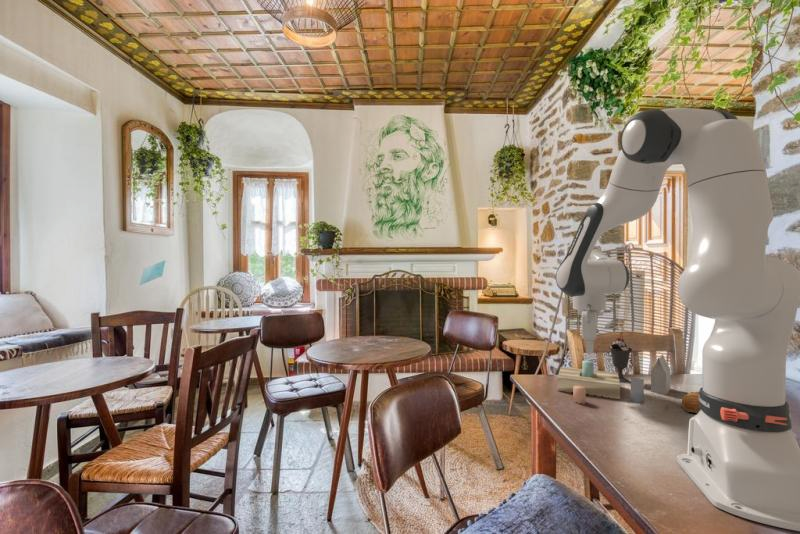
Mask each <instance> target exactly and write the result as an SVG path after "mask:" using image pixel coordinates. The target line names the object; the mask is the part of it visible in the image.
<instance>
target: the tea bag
mask: <svg viewBox="0 0 800 534" xmlns="http://www.w3.org/2000/svg"><path fill="white" fill-rule="evenodd" d="M670 390H671V368H670V366H669V365H668V361H666V358H665V356H664V354H663V353H661V354H660V355H659V356H658V357H657V359H656V362H655V364H654V366H653V368H652V369H651V371H650V393H656V394H659V395H665V396H666V395H668V393H669V391H670Z"/></svg>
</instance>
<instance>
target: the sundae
mask: <svg viewBox="0 0 800 534" xmlns="http://www.w3.org/2000/svg"><path fill="white" fill-rule="evenodd" d="M619 333H620V335H619V337H617V338H616V339H615V340H614V341H613V343H612V344H610V346H609V347H608V349H609V350H610V353H611V354H610V355H611V360H612V365H613V366H614V367H615V368H616V369H617V373H618V376H619V381H620V383H629V382H630V379H628V378H627V377H626V378H625V377H624V374H623V370H624V369H626V368H627V367H628V365H629V358H630V353H631V352H633V348H631V347H629V345H628V344H627V343H626V341H625V339H624V336H623V331H621V332H619Z"/></svg>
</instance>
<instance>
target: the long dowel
mask: <svg viewBox="0 0 800 534" xmlns="http://www.w3.org/2000/svg"><path fill="white" fill-rule="evenodd" d="M581 363H582V364H581V369H582V377H591V378H593V370H594V361H592V360H582V361H581Z"/></svg>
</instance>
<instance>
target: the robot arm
mask: <svg viewBox="0 0 800 534" xmlns="http://www.w3.org/2000/svg"><path fill="white" fill-rule="evenodd" d="M620 148H621V149H620V151H619V154H618V156H617V158H616V160H615V161H614V164H613V167H612V170H611V173H610V176H609V179H608V183H607V186H606V188H605V190H604V191H603V193H602V195H601V196H600V197H599V198H598V200H596V202H595V203H593V204H591V205H590V206H589V207H588V208H587V209H586V211H585V213H584V215H583V217H582V218H581V221H580V223H579V225H578V227H577V230H576V231H575V235H574V237H573V240H572V242H571V243H570V246H569V248H568V250H567V253H566V255H565V257H564V258H563V260H562V261H561V263H560V265H559V266H558V268H557V269H556V270H557V271H556V275H555V282H556V285H557V287H558V289H559V290H560V291H561V292H562V293H564V294H565V296H568V297H570V298H572V309H573V310H575V311H577V315H578V316H581V319H580V320H581V338H582V339H583V340H584V341H585V350H586V351H585V352H586V354H589V355H593V354H594V343H595V342H594V341H595V340H597V337H598V336H597V333H598V331H597V330H598V329H597V328H598V321H599V320H598V319H599V316H600V317H601V315H602V311H605V310H607V307H606V306H607V304H606V303H607V302H606V301H607V300H606V298H607V297H606V295H615V294H621V293H622V292H624V291H625V290H626V289H627V287H628V285H629V283H630V272H629V268H628V266H627V265H626V264H625V263H624V262H623V261H622V260H620V259H619V260H618V259H615V258H612V257H609V256H607V255H606V254H605V253H604V251H603V250H602V249H600V248H598V247H595V246H596V243H597V242H598V240H599V239H600V238H601V236H602V235H603V234H605V233H607V232H608V231H609V230H612V229H614V228H617V227H619V226H621V225H625V224H627V223H631V222H634V221H637V220H639V219H640V218H642V217H644V216H645V215H647V214H648V213H650V211H651V210H652V208H653V207H654V206H655V203H656V202H657V199H658V197H659V194H660V191H661V187H662V184H663V181H664V178H665V175H666V173H667V171H668V169H669V168H670V167H671V166H673V165H682V166H683V168H684V171H685V175H686V176H685V179H686V186H687V194H688V200H689V201H688V202H689V206H690V214H691V222H692V236H691V237H692V238H691V245H690V250H689V251H690V252H689V256H688V257H689V258H688V262H687V264H686V266H685V269H684V270H683V272H682V273H681V274H680V276H679V278H678V281H677V285H676V286H677V287H676V289H677V294H678V297H679V299H680V301H681V303H682V304H683V306H684V307H685V308H686V309H688V310H689V311H690V312H692V313H694V314H695V315H698V316H701V317H704V318H707V319H712V320H714V324H713V327H712V330H711V332H710V334H709V337H708V338H707V339H706V341H705V342H704V344H703V348H702V351H701V352H702V363H701V364H702V368H701V369H702V373H701V375H702V376H701V378H702V380H701V381H702V383H701V384H702V385H701V387H700V388H699V391H698V392H699V398H698V399H699V408H700V409H701V410H700V411H699V413H696V414H695V415H694V416H692V417H691V418H689V422H688V435H687V436H688V437H687V453H681V454H678V455H677V456H676V462H677V463H678V465H679V466H680V467H681V468H682V470H684V472H685V473H686V474H687V475H688V477H689V478H690V479H691V481H692V482H693V483H694V484H695V486H697V487H698V489H699V490H700V491H701V492H702V494H703V495H704V496H705V497H706V498H707V499H708V500H709V502H710V503H711V504H712V505H713V506H715V507H716V508H718V509H719V510H723V511H725V512H727V513H730V514H731V515H735V516H738V517H740V518H743V519H746V520H750V521H754V522H757V523H760V524H764V525H767V526H772V527H777V528H782V529H785V530H791V531H796V532H800V446H799V442H798V441H797V434H796V433H795V432H794V431H792V430H791V429H792V427H793V425H792V412H791V411H790V406H789V403H788V402H787V401H786V385H787V384H786V383H787V382H786V373H787V370H786V369H787V367H786V366H787V356H788V355H787V354H788V350H789V345H790V340H791V337H792V333H793V329H794V326H795V322H796V317H797V311H798V307H799V304H800V270H799V269H798V268H797V267H795V265H792V264H791V263H789V262H787V261H784V260H782V259H779V258H777V257H774V256H768V255H766V248H767V247H766V246H767V238H768V232H769V228H770V225H771V223H772V221H773V219H774V209H773V208H774V207H773V202H772V199H771V198H772V197H771V192H770V185H769V181H768V176H767V169H766V165H765V164H766V163H765V160H764V157H763V153H762V150H761V146H760V144H759V142H758V139H757V138H756V135H755V133H754V130H753V129H752V126H751V125H749V123H747V122H746V121H743V120H741V119H739V118H737V116H736V115H735V114H733V113H731V112H728V111H726V110H723V109H717V108H712V109H705V108H704V109H703V108H691V107H670V108H663V109H658V108H652V109H646V110H644V111H640V112H638V113H635V114H633V115H632V116H631V117H630V118H629V119H628V120H627V122H626V123H625V125H624V127H623V129H622V131H621V135H620Z"/></svg>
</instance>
